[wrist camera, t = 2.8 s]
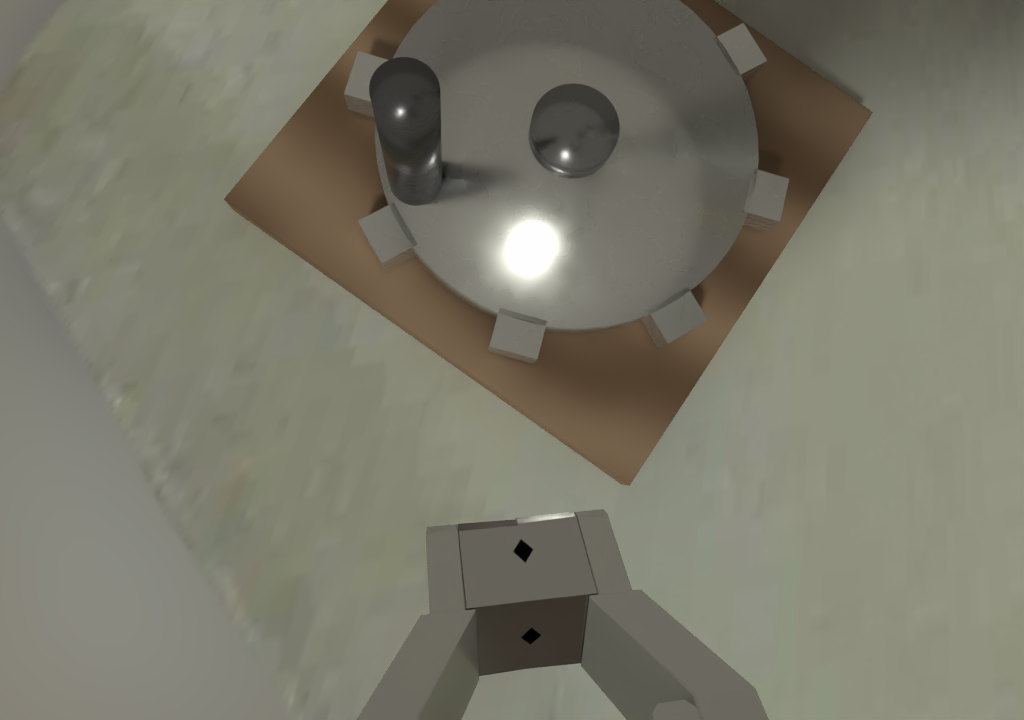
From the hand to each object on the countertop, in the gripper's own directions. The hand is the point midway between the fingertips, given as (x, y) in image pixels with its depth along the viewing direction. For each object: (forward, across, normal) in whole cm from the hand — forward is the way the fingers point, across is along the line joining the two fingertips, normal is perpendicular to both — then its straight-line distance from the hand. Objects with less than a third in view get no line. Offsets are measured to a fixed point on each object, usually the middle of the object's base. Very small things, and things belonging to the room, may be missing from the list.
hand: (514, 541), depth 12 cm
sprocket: (+25, -6, +3) cm, 26 cm away
